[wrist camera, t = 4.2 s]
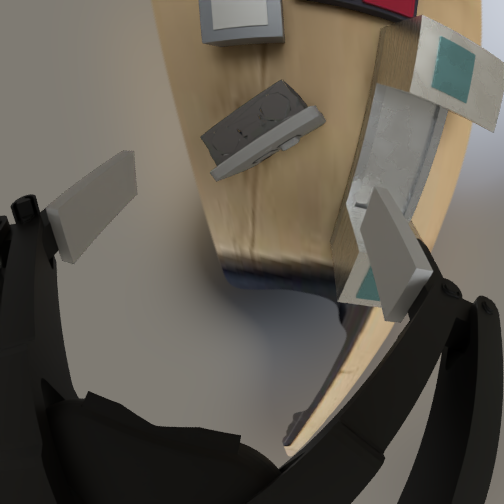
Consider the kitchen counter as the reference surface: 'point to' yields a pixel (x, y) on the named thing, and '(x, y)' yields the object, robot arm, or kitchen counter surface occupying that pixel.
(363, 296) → the grey u-shaped block
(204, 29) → the block
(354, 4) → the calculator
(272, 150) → the electrical switch
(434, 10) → the kitchen counter surface
